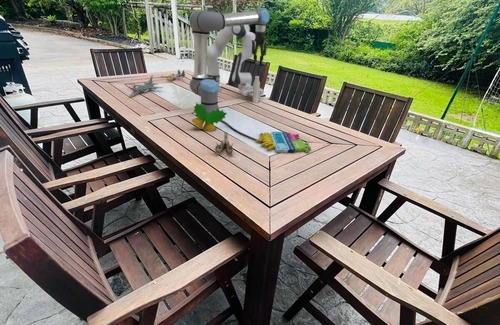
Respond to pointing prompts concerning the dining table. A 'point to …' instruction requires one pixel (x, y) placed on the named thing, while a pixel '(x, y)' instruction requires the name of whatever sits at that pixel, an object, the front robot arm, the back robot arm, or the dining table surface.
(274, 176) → the dining table surface
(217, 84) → the back robot arm
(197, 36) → the front robot arm
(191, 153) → the dining table surface
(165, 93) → the dining table surface
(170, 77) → the toy
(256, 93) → the bottle
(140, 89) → the airplane
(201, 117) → the ornament
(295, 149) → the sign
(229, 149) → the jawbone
